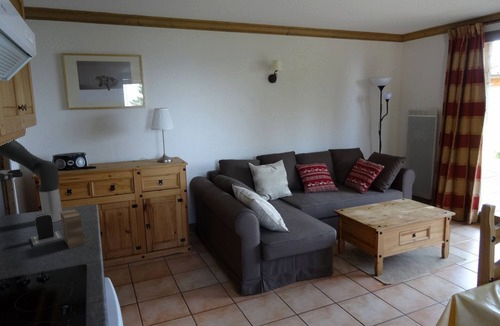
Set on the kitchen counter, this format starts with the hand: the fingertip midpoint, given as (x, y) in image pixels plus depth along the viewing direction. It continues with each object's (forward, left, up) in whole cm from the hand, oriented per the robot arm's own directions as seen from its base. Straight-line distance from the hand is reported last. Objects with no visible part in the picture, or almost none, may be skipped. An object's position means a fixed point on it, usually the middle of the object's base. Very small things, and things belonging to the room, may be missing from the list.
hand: (21, 172), depth 161 cm
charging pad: (+8, +5, -32) cm, 33 cm away
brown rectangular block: (+21, +14, -32) cm, 41 cm away
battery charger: (+8, +5, -31) cm, 33 cm away
